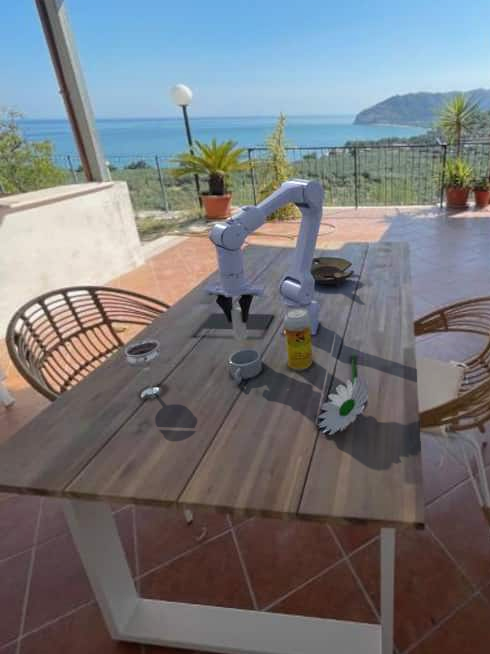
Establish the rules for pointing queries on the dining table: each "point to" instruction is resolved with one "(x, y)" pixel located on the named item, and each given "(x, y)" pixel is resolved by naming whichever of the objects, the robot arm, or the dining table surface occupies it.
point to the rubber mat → (222, 323)
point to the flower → (344, 404)
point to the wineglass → (144, 359)
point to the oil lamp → (330, 270)
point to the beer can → (298, 338)
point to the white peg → (238, 324)
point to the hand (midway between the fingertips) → (238, 320)
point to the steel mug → (245, 364)
